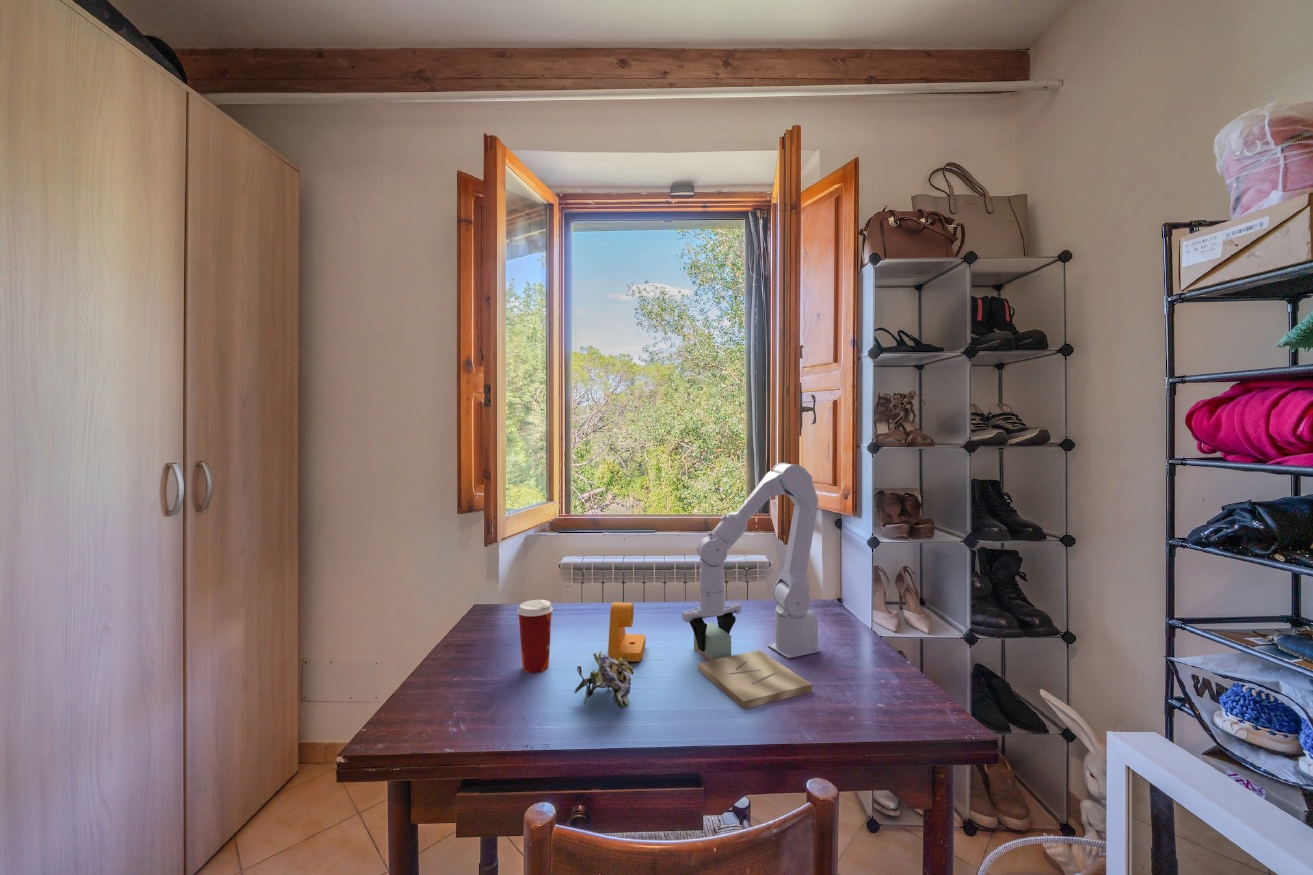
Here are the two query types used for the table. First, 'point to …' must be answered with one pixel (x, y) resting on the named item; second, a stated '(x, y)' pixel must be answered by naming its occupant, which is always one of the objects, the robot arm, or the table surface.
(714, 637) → the block
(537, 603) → the paper cup
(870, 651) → the table surface
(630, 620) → the bracket
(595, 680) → the passion flower
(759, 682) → the birch board
